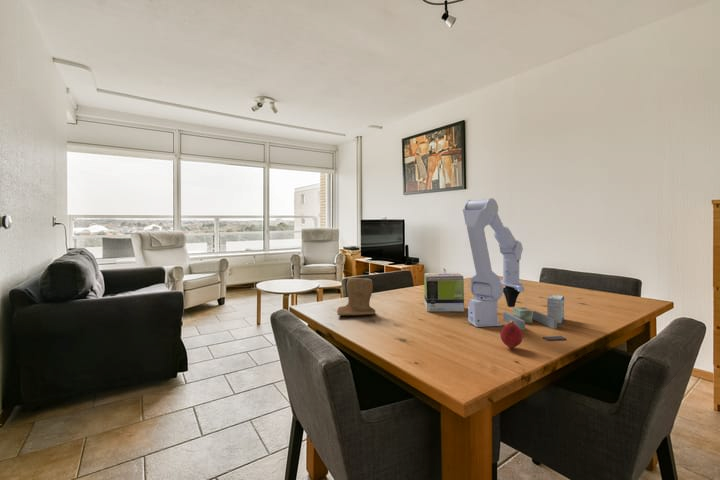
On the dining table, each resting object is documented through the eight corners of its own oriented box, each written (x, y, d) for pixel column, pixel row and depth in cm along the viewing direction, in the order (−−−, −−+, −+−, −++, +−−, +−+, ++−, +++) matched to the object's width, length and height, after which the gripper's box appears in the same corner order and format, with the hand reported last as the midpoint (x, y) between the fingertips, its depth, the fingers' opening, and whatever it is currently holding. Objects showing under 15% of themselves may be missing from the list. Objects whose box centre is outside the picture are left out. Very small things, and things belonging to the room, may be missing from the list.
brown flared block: (373, 310, 143) (373, 274, 142) (376, 317, 131) (376, 278, 130) (337, 311, 142) (336, 275, 141) (337, 319, 130) (336, 280, 129)
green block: (520, 323, 121) (520, 310, 121) (513, 319, 126) (513, 307, 125) (532, 323, 122) (532, 310, 121) (524, 319, 126) (525, 307, 126)
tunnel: (521, 330, 113) (521, 321, 113) (503, 320, 125) (503, 312, 125) (557, 328, 114) (557, 319, 114) (535, 318, 126) (535, 310, 126)
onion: (521, 353, 93) (521, 324, 93) (498, 349, 96) (498, 321, 96) (523, 347, 98) (523, 319, 98) (502, 343, 101) (502, 316, 101)
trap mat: (547, 340, 103) (547, 339, 103) (542, 338, 105) (542, 336, 105) (566, 339, 103) (566, 338, 103) (561, 337, 106) (561, 335, 106)
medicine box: (561, 324, 119) (561, 299, 119) (546, 322, 122) (547, 298, 121) (564, 319, 125) (564, 295, 125) (550, 317, 128) (550, 294, 128)
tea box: (459, 306, 147) (459, 272, 146) (464, 312, 137) (464, 275, 136) (424, 306, 148) (423, 272, 148) (426, 312, 138) (426, 275, 138)
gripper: (532, 273, 124) (532, 310, 125) (511, 268, 138) (511, 301, 139) (513, 274, 123) (513, 311, 124) (494, 269, 138) (494, 302, 138)
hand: (511, 306), depth 131 cm, fingers closed
